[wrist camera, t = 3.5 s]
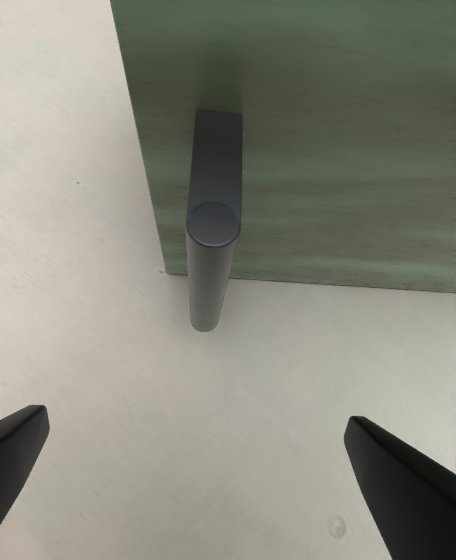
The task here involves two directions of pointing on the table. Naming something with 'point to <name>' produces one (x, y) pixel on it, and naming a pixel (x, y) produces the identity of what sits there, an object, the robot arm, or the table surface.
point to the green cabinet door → (296, 140)
